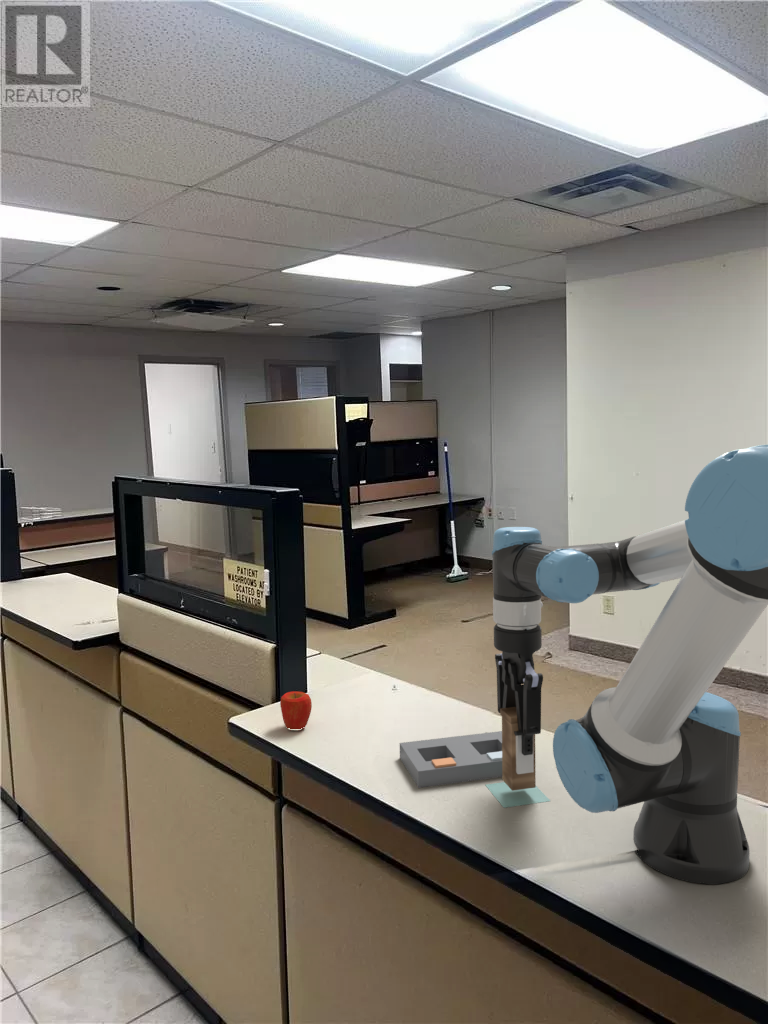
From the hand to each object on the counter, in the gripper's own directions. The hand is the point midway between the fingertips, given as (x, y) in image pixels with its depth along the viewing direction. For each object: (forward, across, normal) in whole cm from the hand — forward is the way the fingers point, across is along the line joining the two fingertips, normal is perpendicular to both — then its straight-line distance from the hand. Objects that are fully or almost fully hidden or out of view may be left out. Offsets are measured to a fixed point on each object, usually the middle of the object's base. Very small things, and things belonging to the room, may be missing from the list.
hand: (518, 765), depth 120 cm
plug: (+3, 0, 0) cm, 3 cm away
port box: (+6, +13, +5) cm, 15 cm away
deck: (+6, +1, 0) cm, 6 cm away
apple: (+5, +41, +31) cm, 52 cm away
